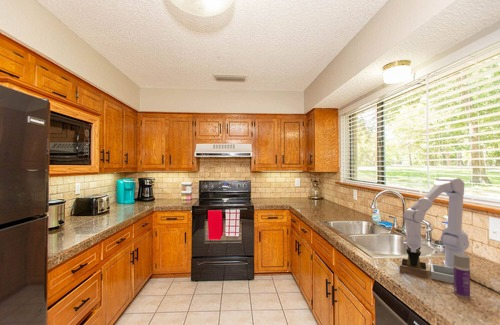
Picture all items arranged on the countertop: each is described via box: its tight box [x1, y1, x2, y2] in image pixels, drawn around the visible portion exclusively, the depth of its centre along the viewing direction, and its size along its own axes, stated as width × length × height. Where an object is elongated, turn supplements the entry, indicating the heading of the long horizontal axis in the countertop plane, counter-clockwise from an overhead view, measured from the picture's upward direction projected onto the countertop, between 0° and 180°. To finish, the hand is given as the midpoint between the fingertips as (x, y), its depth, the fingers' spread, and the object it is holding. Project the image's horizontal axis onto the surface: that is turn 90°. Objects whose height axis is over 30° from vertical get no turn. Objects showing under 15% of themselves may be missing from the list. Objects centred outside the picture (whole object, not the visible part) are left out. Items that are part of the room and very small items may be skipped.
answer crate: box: [429, 263, 454, 284], centre depth 107 cm, size 11×11×3 cm
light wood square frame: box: [398, 257, 430, 279], centre depth 114 cm, size 11×11×3 cm
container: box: [453, 253, 471, 298], centre depth 93 cm, size 5×5×15 cm
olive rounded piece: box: [406, 247, 422, 269], centre depth 114 cm, size 6×6×11 cm
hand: (413, 263), depth 114 cm, fingers open, 7 cm apart
